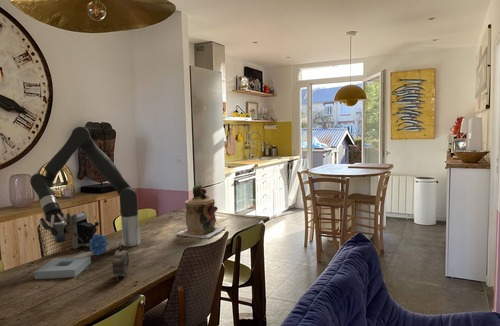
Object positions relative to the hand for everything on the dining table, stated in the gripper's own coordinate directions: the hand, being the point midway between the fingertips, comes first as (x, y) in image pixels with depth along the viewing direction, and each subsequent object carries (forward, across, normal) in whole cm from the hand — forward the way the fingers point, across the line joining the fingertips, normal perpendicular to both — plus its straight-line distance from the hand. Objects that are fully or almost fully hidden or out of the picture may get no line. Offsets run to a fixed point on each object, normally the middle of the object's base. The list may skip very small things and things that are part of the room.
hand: (61, 233), depth 177 cm
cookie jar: (+16, +82, +9) cm, 84 cm away
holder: (+15, -1, +9) cm, 18 cm away
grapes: (+9, +20, +16) cm, 27 cm away
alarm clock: (+37, +13, -12) cm, 41 cm away
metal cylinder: (+2, 0, +4) cm, 5 cm away
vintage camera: (-5, +23, +30) cm, 38 cm away
